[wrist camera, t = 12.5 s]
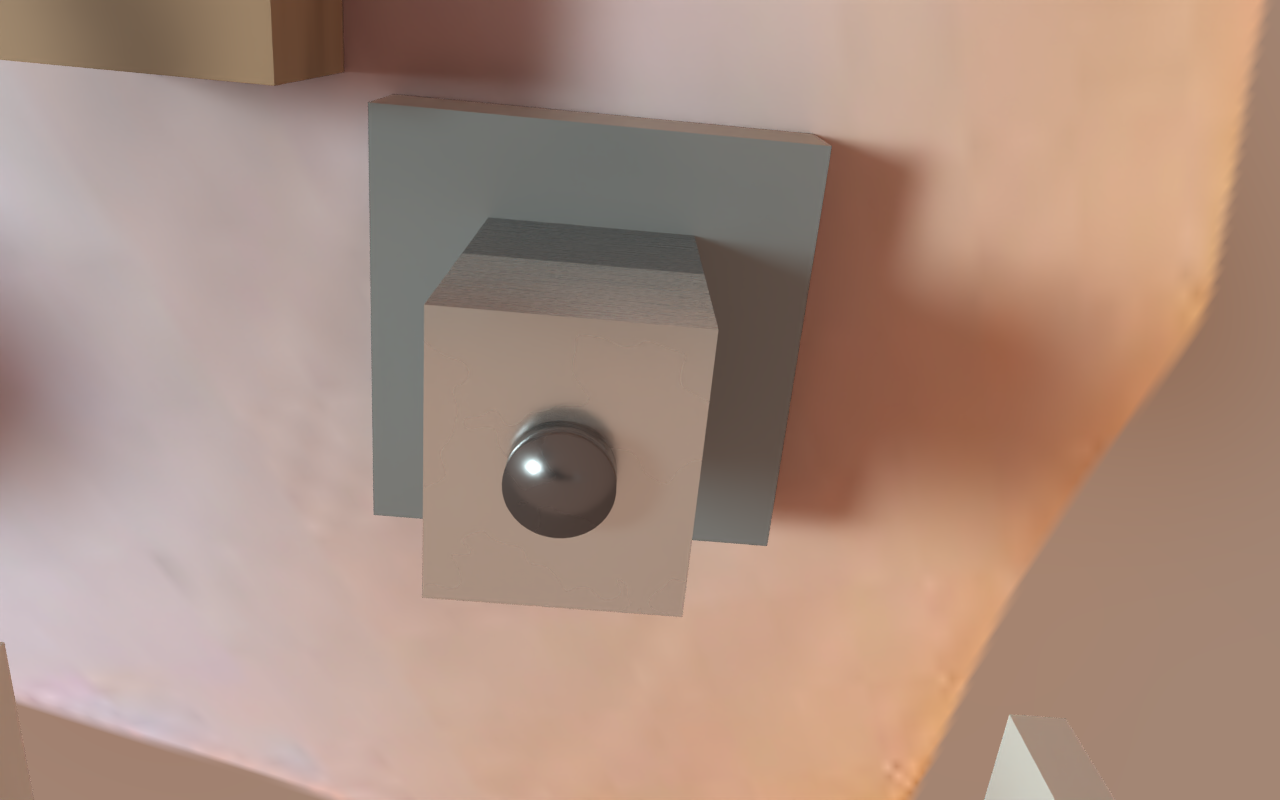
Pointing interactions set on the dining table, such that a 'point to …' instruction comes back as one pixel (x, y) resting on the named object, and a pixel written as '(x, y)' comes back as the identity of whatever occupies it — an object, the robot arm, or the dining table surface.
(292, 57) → the walnut stand
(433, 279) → the slate stand
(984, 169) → the dining table surface
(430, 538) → the block
